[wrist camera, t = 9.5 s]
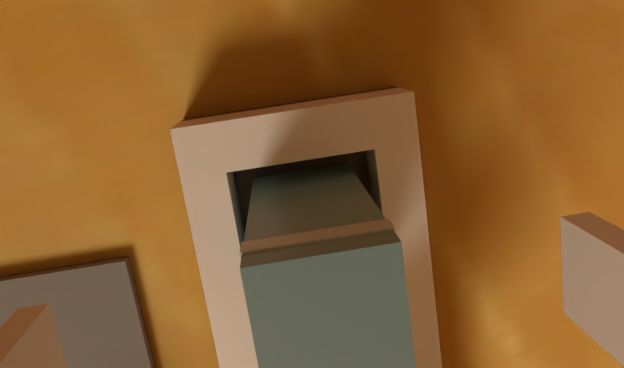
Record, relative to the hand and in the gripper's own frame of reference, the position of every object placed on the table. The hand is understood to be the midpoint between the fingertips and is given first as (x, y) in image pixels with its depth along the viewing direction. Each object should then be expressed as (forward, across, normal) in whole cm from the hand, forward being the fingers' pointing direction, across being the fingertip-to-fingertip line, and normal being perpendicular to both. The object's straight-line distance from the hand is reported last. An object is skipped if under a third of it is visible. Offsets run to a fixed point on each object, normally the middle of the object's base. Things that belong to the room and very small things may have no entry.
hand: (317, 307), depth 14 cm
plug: (+10, 0, -1) cm, 10 cm away
